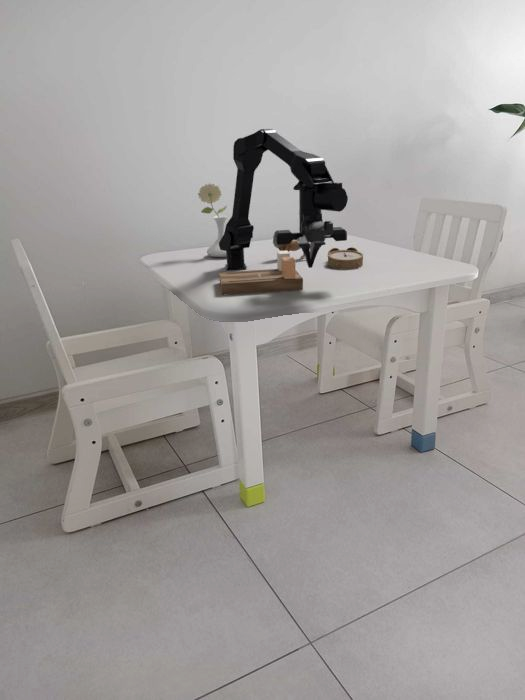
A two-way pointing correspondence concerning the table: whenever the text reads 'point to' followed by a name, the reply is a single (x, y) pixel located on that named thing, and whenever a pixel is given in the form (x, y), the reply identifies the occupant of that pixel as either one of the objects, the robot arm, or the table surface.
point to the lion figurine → (288, 246)
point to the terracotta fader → (288, 268)
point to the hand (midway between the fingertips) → (310, 267)
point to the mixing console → (258, 281)
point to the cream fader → (279, 258)
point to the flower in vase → (211, 195)
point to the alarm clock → (345, 258)
